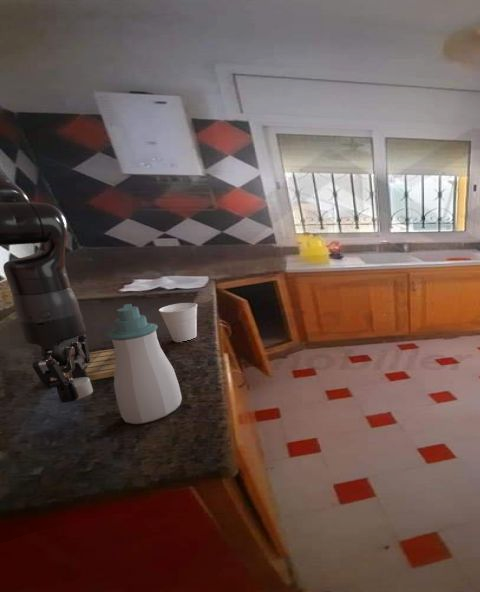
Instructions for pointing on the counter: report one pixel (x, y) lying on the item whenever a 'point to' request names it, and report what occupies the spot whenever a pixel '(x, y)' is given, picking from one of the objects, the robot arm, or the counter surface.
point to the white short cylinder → (82, 387)
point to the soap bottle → (141, 370)
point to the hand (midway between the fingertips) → (76, 393)
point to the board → (101, 364)
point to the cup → (180, 320)
